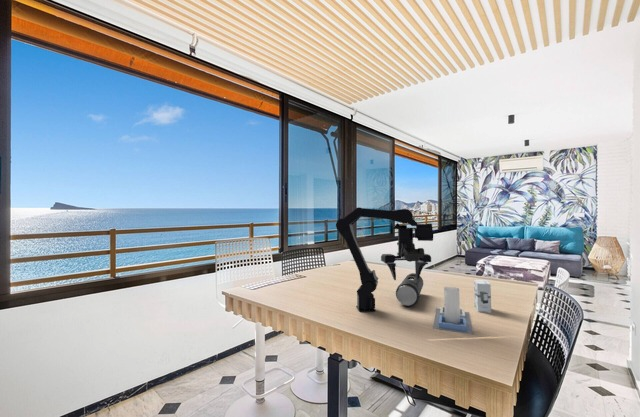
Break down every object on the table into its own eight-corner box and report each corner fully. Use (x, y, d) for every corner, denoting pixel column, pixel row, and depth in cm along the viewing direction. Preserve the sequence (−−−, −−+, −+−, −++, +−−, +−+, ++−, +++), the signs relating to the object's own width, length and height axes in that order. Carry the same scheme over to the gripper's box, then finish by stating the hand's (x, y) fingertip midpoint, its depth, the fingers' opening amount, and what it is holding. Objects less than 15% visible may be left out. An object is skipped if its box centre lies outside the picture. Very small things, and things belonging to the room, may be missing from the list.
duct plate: (473, 336, 90) (473, 329, 91) (432, 329, 95) (432, 323, 96) (469, 313, 112) (469, 308, 112) (436, 309, 117) (436, 304, 117)
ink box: (474, 306, 121) (473, 278, 121) (487, 308, 119) (486, 279, 119) (477, 313, 113) (476, 283, 113) (491, 314, 111) (491, 284, 111)
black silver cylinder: (424, 294, 141) (423, 273, 142) (418, 310, 116) (418, 285, 116) (404, 292, 145) (404, 271, 146) (394, 307, 120) (394, 283, 120)
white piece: (446, 326, 97) (445, 289, 97) (443, 321, 102) (443, 286, 102) (461, 328, 96) (460, 290, 96) (458, 322, 100) (457, 287, 101)
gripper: (389, 242, 105) (390, 285, 104) (438, 241, 107) (438, 283, 106) (380, 240, 116) (380, 278, 116) (424, 239, 118) (425, 277, 117)
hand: (406, 279), depth 113 cm, fingers open, 9 cm apart
